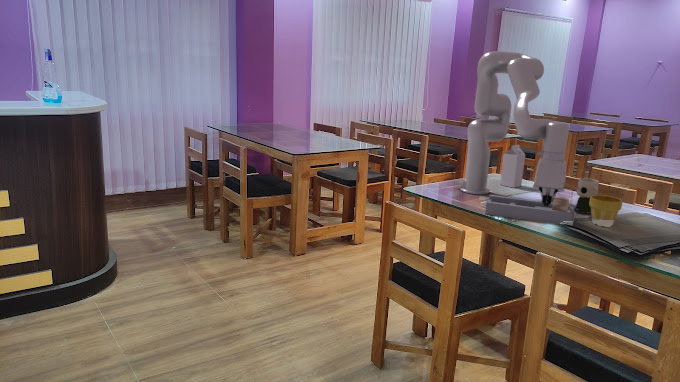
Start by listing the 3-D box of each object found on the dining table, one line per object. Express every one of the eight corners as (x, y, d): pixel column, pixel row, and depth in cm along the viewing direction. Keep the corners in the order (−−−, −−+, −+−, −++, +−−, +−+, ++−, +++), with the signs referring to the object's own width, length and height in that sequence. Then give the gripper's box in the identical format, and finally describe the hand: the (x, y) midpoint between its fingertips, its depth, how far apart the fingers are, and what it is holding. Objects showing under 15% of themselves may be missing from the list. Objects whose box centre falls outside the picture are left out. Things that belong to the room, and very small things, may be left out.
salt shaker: (556, 203, 208) (561, 172, 205) (541, 201, 209) (546, 171, 206) (553, 199, 214) (557, 169, 210) (539, 198, 215) (543, 168, 212)
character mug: (566, 208, 201) (571, 176, 197) (582, 208, 202) (587, 176, 199) (584, 216, 190) (590, 183, 187) (601, 216, 192) (607, 183, 188)
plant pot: (579, 220, 185) (583, 194, 182) (601, 219, 188) (606, 193, 186) (601, 229, 175) (606, 202, 173) (624, 228, 179) (629, 201, 176)
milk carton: (499, 185, 236) (504, 145, 231) (507, 183, 241) (512, 143, 236) (513, 188, 231) (519, 147, 226) (521, 186, 236) (526, 146, 231)
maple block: (551, 212, 183) (553, 199, 181) (551, 209, 187) (554, 196, 186) (566, 214, 181) (569, 201, 179) (566, 211, 185) (568, 198, 184)
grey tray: (485, 214, 188) (486, 202, 187) (488, 205, 199) (489, 194, 198) (572, 226, 177) (574, 214, 176) (570, 216, 189) (572, 205, 188)
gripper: (530, 155, 180) (524, 205, 184) (576, 160, 175) (568, 211, 179) (531, 152, 187) (524, 200, 191) (575, 157, 181) (567, 205, 186)
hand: (545, 205), depth 185 cm, fingers closed
